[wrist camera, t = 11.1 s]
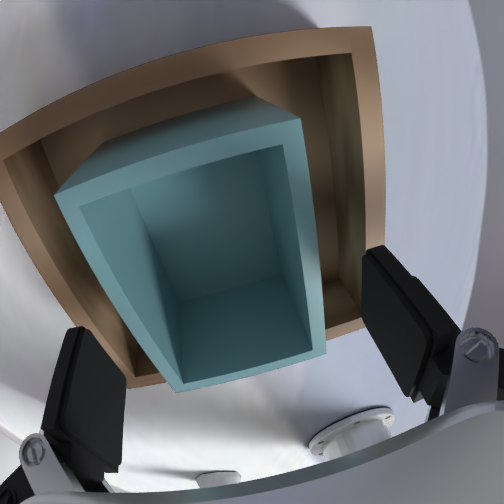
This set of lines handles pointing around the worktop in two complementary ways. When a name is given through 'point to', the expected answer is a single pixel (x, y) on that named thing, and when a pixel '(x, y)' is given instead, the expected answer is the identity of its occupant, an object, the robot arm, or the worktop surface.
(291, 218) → the small crate
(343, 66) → the big crate
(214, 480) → the flask
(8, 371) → the worktop surface
